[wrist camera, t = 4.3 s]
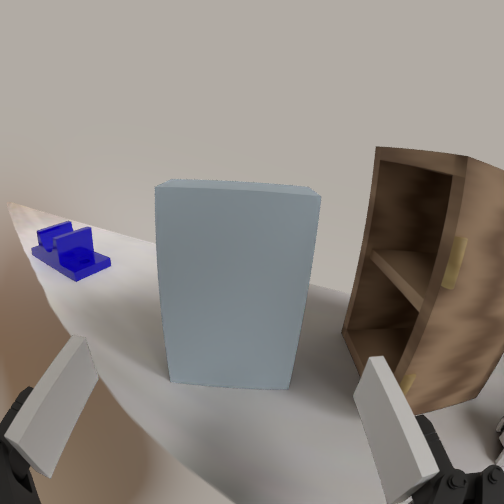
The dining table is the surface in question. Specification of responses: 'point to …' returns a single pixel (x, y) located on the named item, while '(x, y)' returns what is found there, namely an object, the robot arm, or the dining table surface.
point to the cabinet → (431, 275)
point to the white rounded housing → (500, 461)
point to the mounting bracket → (69, 251)
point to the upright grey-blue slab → (233, 279)
